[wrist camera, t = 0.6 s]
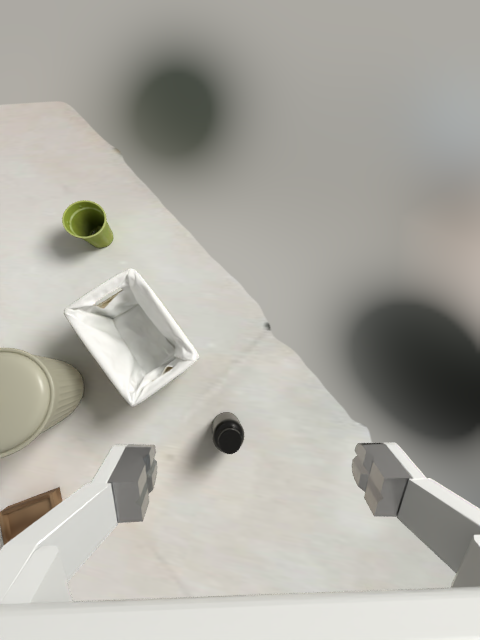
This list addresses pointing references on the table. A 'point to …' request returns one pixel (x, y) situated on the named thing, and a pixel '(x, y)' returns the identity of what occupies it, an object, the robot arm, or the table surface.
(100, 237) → the plant pot
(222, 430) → the supplement bottle
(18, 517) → the walnut tray
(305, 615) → the robot arm
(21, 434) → the canister
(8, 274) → the table surface
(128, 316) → the storage basket
